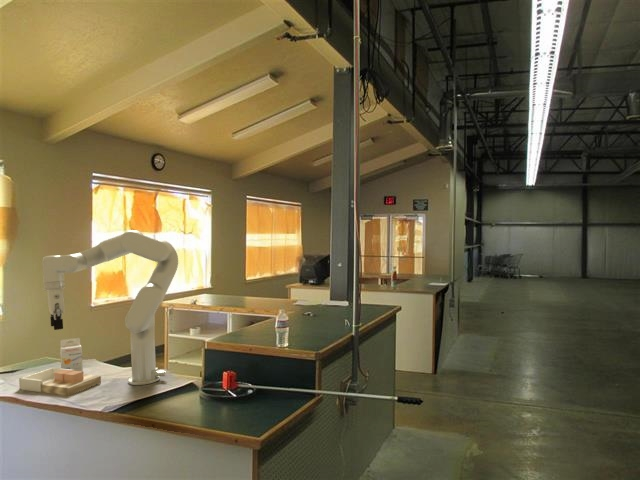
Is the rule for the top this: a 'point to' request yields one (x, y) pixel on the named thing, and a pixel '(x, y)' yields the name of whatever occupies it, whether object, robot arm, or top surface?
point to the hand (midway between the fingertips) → (56, 327)
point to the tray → (38, 379)
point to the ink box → (71, 354)
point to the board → (70, 385)
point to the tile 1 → (60, 375)
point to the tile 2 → (73, 376)
